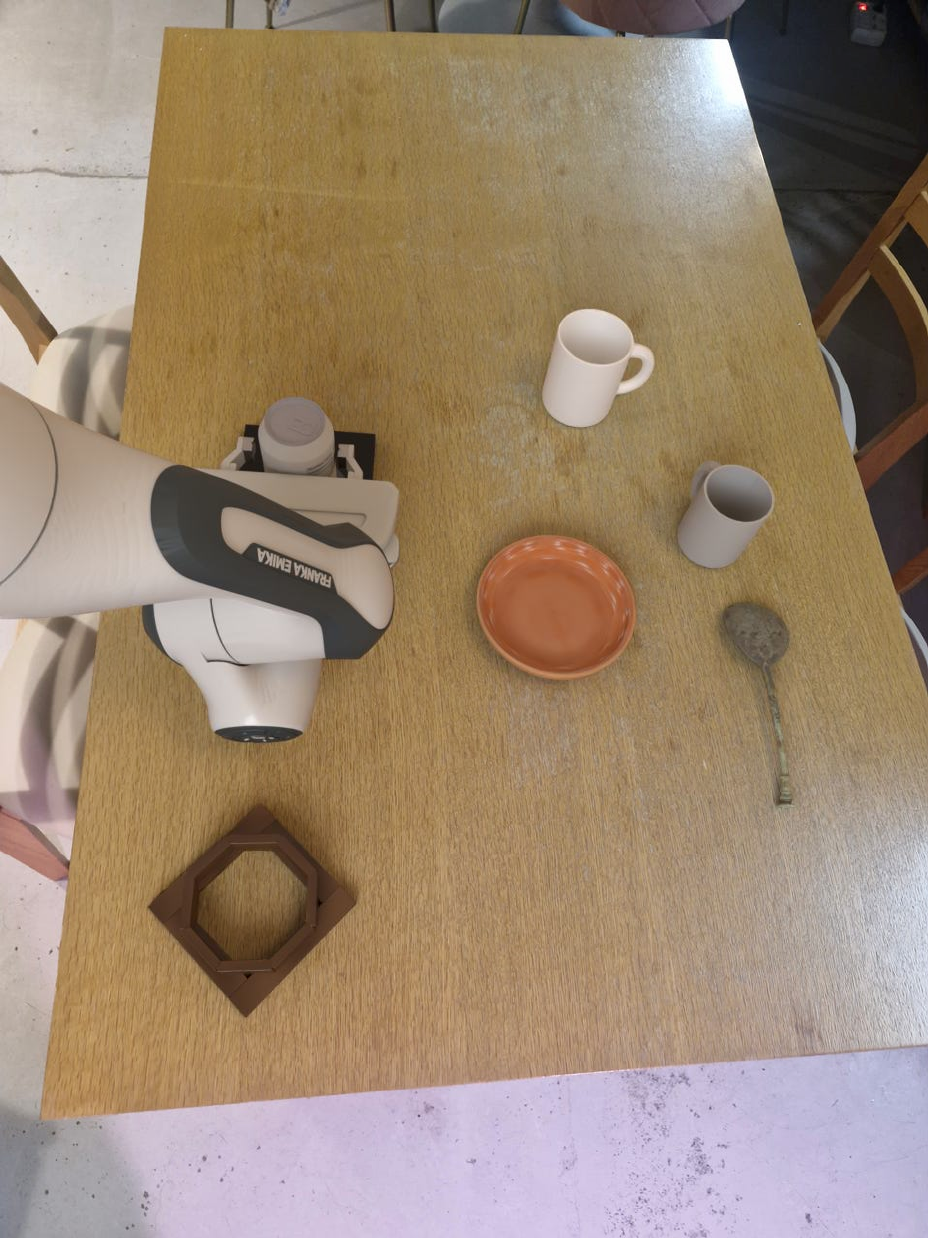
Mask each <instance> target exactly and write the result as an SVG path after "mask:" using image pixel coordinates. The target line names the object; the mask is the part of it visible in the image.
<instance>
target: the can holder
mask: <svg viewBox="0 0 928 1238" xmlns="http://www.w3.org/2000/svg"><path fill="white" fill-rule="evenodd" d="M245 852H272V853H273V854H274V855H275V856H276V857H277V859H279V860H280V861H281V862H282V863H283V864H284V865H285V867H287V869H288V870H289V871H291V873H292V874H293V875H294V876H295V877H296V878H297V879H298V880H299V881H300V882H301V883H302V885H304V886H305V887H306V903H305V920H304V921H303V922H302V923H301V924H300V925H299V926H298V927H297V928H296V929H295V930H294V931H293V932H292V933H291V934H290V935H289V936H288V937H287V938H286V939H285V940H284V941H283V942H282V943H281V944H280V945H279V946H278V947H277V948H276V949H275V950H273V952H272V953H271V954H270V955H269V956H268V957H267V958H266V959H241V960H239V959H237V960H236V959H235V960H233V959H232V958H231V957H230V956H229V955H228V954H227V953H226V951H224V950H223V949H222V947H221V946H220V944H218V943H217V942H216V941H215V940H214V938H213V937H212V936H211V935H210V934H209V933H208V931H207V930H205V928H204V927H203V926H202V925H201V924H200V923H199V922H198V919H199V909H200V898H201V893H202V891H204V890H205V889H206V888H207V887H208V886H209V885H210V884H211V883H212V882H213V881H214V880H215V879H216V878H217V877H219V875H221V874H222V873H223V872H224V871H225V870H226V869H227V868H228V867H229V866H230V865H231V864H233V862H234V861H236V860H237V859H238V858H239V857H240V856H241V855H242V854H243V853H245ZM319 902H320V903H321V904H320V905H319ZM356 905H357V901H356V900H355V899H354V898H353V897H352V895H350V894H349V892H347V890H345V888H344V887H343V886H342V885H340V884H339V882H338V881H337V880H336V879H335V878H334V877H333V876H332V875H331V874H330V873H329V872H328V871H327V870H326V869H325V868H324V867H323V866H322V864H320V863H319V861H317V859H316V858H314V857H313V855H312V854H310V852H309V851H308V850H307V849H306V848H305V847H304V846H303V845H302V844H301V842H299V840H297V839H296V838H295V837H294V835H292V834H291V832H289V831H288V830H287V829H286V827H284V826H283V824H282V823H281V822H280V821H278V819H277V818H276V817H274V815H273V814H272V813H271V812H270V811H269V810H268V809H267V808H266V807H265V805H264V804H262V803H259V804H258V805H257V806H256V807H255V808H253V809H252V810H251V811H250V812H249V813H247V815H246V816H244V818H242V819H241V820H240V821H239V822H238V823H237V824H236V825H235V826H234V827H232V829H230V831H228V832H227V833H226V834H225V835H224V836H223V837H222V838H221V839H219V841H217V842H216V843H215V844H214V845H213V846H212V847H211V848H210V849H209V850H208V851H207V852H205V853H204V855H202V856H201V857H200V858H199V859H198V860H197V861H196V862H195V863H193V864H192V865H191V866H190V867H189V868H188V869H187V870H186V871H185V872H184V873H182V874H181V875H180V876H179V877H178V878H177V879H176V880H174V882H173V883H171V885H169V886H168V887H167V888H166V889H165V890H163V892H162V893H161V894H159V895H158V896H157V897H156V898H155V899H154V900H153V901H152V902H150V904H149V905H148V906H147V908H148V909H149V911H150V912H151V913H152V914H153V916H155V917H156V919H157V920H158V921H159V922H160V923H161V925H162V926H163V927H164V928H165V929H166V930H167V931H168V933H170V934H171V936H172V937H173V938H174V939H175V940H176V941H177V942H178V943H179V945H180V946H181V947H182V949H183V950H185V952H186V953H187V954H188V955H189V956H190V957H191V959H192V960H194V962H195V963H196V964H197V966H198V967H200V968H201V970H202V971H203V972H204V973H205V974H206V975H207V977H208V978H209V979H210V980H211V981H212V982H213V983H214V984H215V986H216V987H217V988H218V989H219V990H220V991H221V993H223V995H224V996H225V997H226V998H227V999H228V1000H229V1001H230V1002H231V1003H232V1005H233V1006H234V1007H235V1008H236V1009H237V1010H238V1011H239V1012H240V1014H241V1015H242V1016H243V1017H244V1018H247V1017H249V1016H250V1015H251V1014H252V1012H254V1011H255V1009H257V1008H258V1006H259V1005H260V1004H261V1003H262V1002H264V1000H265V999H266V998H267V997H268V996H269V995H271V993H272V992H273V991H274V990H275V989H276V988H277V987H278V986H279V985H280V983H282V982H283V981H284V979H286V978H287V976H289V974H290V973H291V972H292V971H293V970H294V969H295V968H296V967H297V966H298V965H299V964H300V963H301V962H302V961H303V960H304V959H305V958H306V957H307V955H309V954H310V953H311V951H313V949H314V948H315V947H316V946H317V945H318V944H319V943H320V942H321V941H323V939H324V938H325V937H326V936H327V935H328V934H329V932H331V931H332V930H333V929H334V928H335V926H337V924H338V923H340V921H342V920H343V918H344V917H345V916H346V915H348V913H349V912H350V911H351V910H352V909H353V908H354V907H355V906H356ZM247 975H250V976H249V977H248V976H247Z"/></svg>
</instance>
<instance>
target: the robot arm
mask: <svg viewBox="0 0 928 1238" xmlns="http://www.w3.org/2000/svg"><path fill="white" fill-rule="evenodd" d="M255 453H256V443H255V438H251V437H243V436H242V435H241V436H240V435H239V436H238V437H237V443H236V448H235V449H234V450H232V451H231V452H230V453H229V454H228V455H227V456H226V457H225V458H224V459H222V461H221V463H220V468H207V467H206V468H204V467H195V466H194V467H193V466H192V467H191V466H188V465H185V464H180V463H177V462H175V461H173V460H170V459H168V458H165V457H162V456H159V455H156V454H153V453H151V452H148V451H145V450H142V449H140V448H138V447H134V446H131V445H128V444H127V443H124V442H122V441H120V440H119V441H118V440H116V439H114V438H112V437H109V436H106V435H105V434H102V433H100V432H98V431H95V430H94V429H91V428H89V427H87V426H84V425H82V424H80V423H78V422H76V421H74V420H71V419H69V418H67V417H65V416H63V415H60V414H59V413H57V412H55V411H53V410H51V409H49V408H48V407H45V406H44V405H41V404H40V403H38V402H36V401H34V400H32V399H30V398H28V397H27V396H25V395H23V394H22V393H20V392H18V391H16V390H15V389H14V388H12V387H10V386H9V385H7V384H5V383H3V382H1V381H0V620H36V619H37V620H39V619H52V618H63V617H64V618H65V617H72V616H79V615H86V614H93V613H100V612H101V613H102V612H108V611H115V610H122V609H128V608H134V607H141V619H142V624H143V625H142V626H143V630H144V631H145V634H146V635H147V637H148V639H150V641H151V642H152V643H153V645H154V646H155V647H156V648H157V650H159V651H160V653H162V654H163V655H164V656H165V657H166V658H168V659H169V660H171V661H172V662H173V663H175V664H177V665H179V666H180V667H182V668H183V669H185V671H186V672H187V673H188V675H189V676H190V677H191V679H192V680H193V681H194V683H195V684H196V686H197V687H198V689H199V691H200V692H201V694H202V696H203V697H204V701H205V705H206V709H207V717H208V724H209V727H210V729H211V731H212V732H213V733H214V734H215V735H217V736H218V737H220V738H222V739H224V740H228V741H232V742H236V743H243V744H244V743H253V744H267V743H268V744H269V743H270V744H271V743H281V742H287V741H291V740H295V739H296V738H298V737H300V736H302V735H304V734H305V733H306V731H307V729H308V727H309V724H310V721H311V719H312V715H313V711H314V709H315V704H316V699H317V695H318V691H319V686H320V679H321V673H322V667H323V660H324V659H326V660H329V661H330V660H331V661H333V660H335V661H338V660H352V661H353V660H354V661H355V660H360V659H362V657H364V656H365V655H366V654H367V653H368V652H369V651H370V650H371V649H372V648H374V646H375V645H376V644H377V643H378V642H379V641H380V640H381V639H382V637H383V636H384V635H385V633H386V632H387V631H388V629H389V627H390V626H391V624H392V620H393V617H394V612H395V601H396V600H395V599H396V597H395V585H394V578H393V573H392V569H393V568H394V567H396V565H397V564H398V563H399V560H400V552H401V542H400V539H399V538H398V536H397V535H396V534H395V533H396V530H397V529H396V528H397V523H398V516H399V507H400V491H399V489H398V488H397V487H396V485H395V484H394V483H393V482H392V481H388V480H374V479H373V480H363V471H362V470H361V468H360V467H359V465H358V464H357V462H356V460H355V459H354V445H349V444H339V446H338V456H337V458H338V468H345V469H347V471H348V478H334V477H320V476H306V475H292V474H277V473H263V472H249V471H238V470H239V469H240V468H241V467H242V465H243V464H244V463H245V461H247V462H254V459H255Z"/></svg>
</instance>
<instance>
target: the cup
mask: <svg viewBox="0 0 928 1238" xmlns="http://www.w3.org/2000/svg"><path fill="white" fill-rule="evenodd" d="M689 487H690V488H689V494H690V501H691V503H690V504H689V507H688V508H687V509H686V511H685V513H684V515H683V517H682V519H680V522H679V524H678V526H677V531H676V540H677V543H678V547H679V548H680V550H681V551H682V553H683V555H684V556H685V557H686V558H687V559H688V560H689V561H691V562H693V563H694V564H696V565H698V566H701V567H703V568H708V569H722V568H726V567H728V566H730V565H732V564H733V563H734V562H736V561H737V560H738V559H739V557H740V556H741V554H742V553H743V552H744V551H745V549H746V548H747V546H748V545H749V544H750V543H751V541H752V539H753V538H755V536H756V534H757V533H758V532H759V530H760V529H761V528H762V526H763V525H764V523H765V522H766V521H767V519H768V518H769V517H770V516H771V514H772V512H773V510H774V507H775V503H776V501H775V494H774V491H773V489H772V486H771V485H770V484H769V482H768V481H767V480H766V479H765V478H764V477H763V476H762V475H761V474H760V473H759V472H757V471H755V470H753V469H752V468H749V467H746V466H744V465H740V464H724V465H722V464H721V463H720V462H719V461H714V460H710V459H708V460H706V461H704V462H703V463H701V464H700V465H699V466H698V467H697V468H696V469H695V471H694V473H693V476H692V477H691V481H690V486H689Z"/></svg>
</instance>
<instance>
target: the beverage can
mask: <svg viewBox="0 0 928 1238" xmlns="http://www.w3.org/2000/svg"><path fill="white" fill-rule="evenodd" d="M331 421H332V420H331V419H330V418H329V417H328V415H326V413H325V412H324V411H323V409H322V407H321V406H320V405H319V404H318V403H316V402H314V401H313V400H311V399H308V398H305V397H301V396H289V397H284V398H281V399H279V400H276V401H275V402H273V403H272V404H271V405H270V406H269V407H268V408H267V409H266V411H265V412H264V416H263V418H262V420H261V421H260V424H259V425H260V426H259V431H258V437H259V443H260V449H261V454H262V460H263V465H264V471H265V473H277V474H292V475H306V476H320V477H334V478H337V477H336V460H335V443H334V431H335V430H334V426H333V424H332V422H331Z"/></svg>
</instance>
